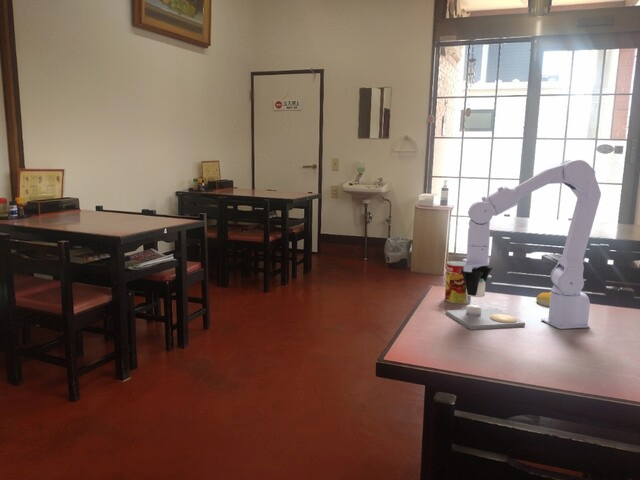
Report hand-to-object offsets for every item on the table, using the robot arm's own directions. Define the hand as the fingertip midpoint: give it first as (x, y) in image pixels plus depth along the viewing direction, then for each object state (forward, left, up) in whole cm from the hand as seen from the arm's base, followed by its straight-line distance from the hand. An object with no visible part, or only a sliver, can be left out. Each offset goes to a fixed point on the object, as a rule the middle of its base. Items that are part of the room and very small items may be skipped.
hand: (475, 293), depth 139 cm
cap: (0, 0, -1) cm, 0 cm away
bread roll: (-32, -9, -7) cm, 34 cm away
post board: (-1, +3, -7) cm, 8 cm away
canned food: (-4, -17, -7) cm, 19 cm away
